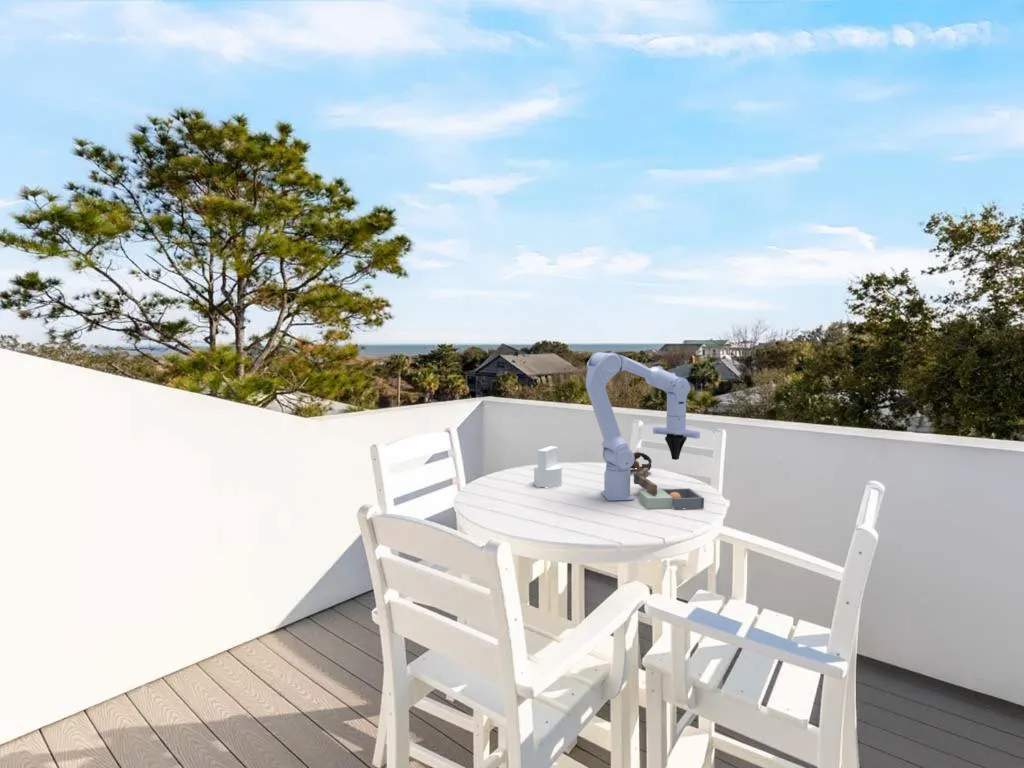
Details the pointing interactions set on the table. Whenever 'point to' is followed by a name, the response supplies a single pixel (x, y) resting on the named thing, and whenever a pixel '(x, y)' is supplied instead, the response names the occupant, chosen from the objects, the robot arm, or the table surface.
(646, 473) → the flipper lever
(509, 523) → the table surface
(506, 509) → the table surface
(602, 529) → the table surface
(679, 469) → the table surface
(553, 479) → the base with upright slab
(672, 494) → the ball
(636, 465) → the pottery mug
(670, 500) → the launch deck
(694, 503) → the tray
